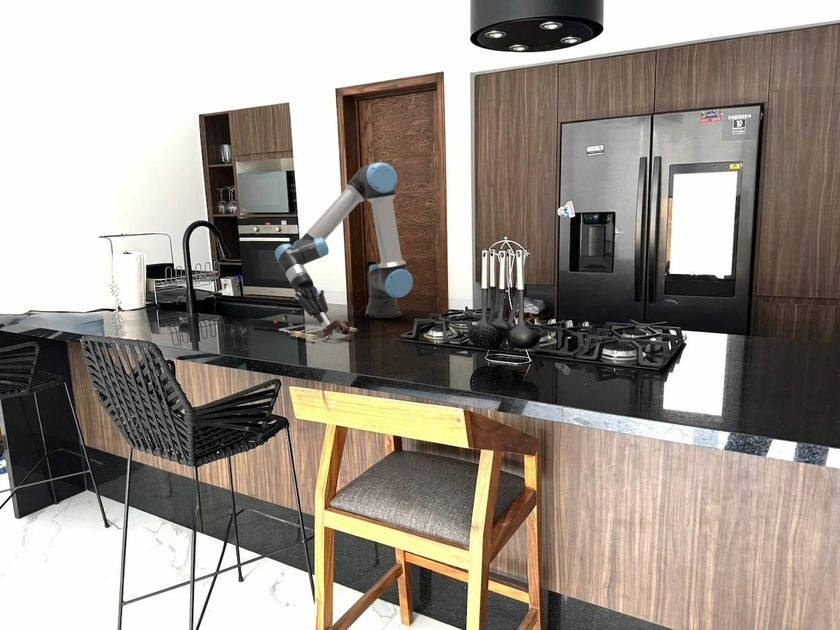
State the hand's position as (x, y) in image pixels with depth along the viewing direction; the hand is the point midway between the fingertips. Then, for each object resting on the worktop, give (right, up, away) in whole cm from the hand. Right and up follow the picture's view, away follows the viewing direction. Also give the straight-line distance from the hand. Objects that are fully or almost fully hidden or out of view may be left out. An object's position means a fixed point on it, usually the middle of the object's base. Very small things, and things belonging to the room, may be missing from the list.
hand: (328, 328), depth 224 cm
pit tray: (-12, -2, +12) cm, 17 cm away
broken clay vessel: (+4, -4, -3) cm, 7 cm away
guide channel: (-2, -3, +3) cm, 5 cm away
